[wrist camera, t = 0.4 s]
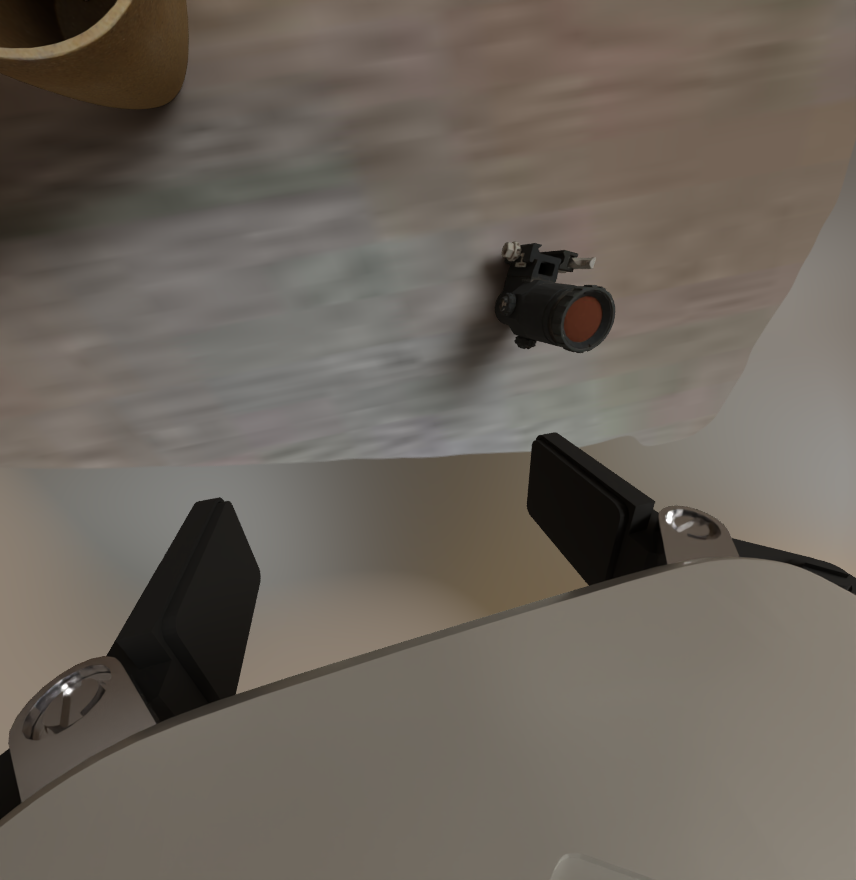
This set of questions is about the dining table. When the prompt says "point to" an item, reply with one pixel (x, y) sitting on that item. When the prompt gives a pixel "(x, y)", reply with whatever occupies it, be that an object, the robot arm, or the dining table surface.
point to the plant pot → (97, 49)
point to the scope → (552, 300)
